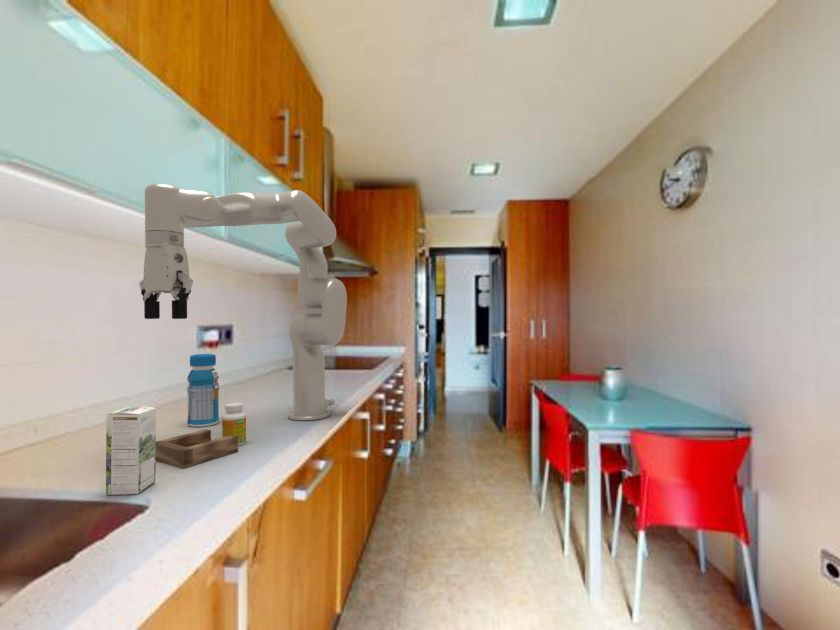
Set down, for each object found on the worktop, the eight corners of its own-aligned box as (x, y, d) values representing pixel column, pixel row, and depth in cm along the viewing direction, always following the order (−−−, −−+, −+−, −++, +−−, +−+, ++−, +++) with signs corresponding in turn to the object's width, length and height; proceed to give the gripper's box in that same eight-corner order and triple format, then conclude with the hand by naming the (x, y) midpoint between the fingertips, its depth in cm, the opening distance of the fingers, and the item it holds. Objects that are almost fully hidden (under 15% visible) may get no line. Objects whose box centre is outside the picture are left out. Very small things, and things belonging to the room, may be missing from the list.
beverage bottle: (196, 429, 123) (195, 356, 123) (181, 424, 128) (180, 355, 128) (225, 423, 130) (224, 354, 130) (210, 419, 135) (209, 353, 135)
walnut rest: (205, 444, 109) (205, 429, 109) (238, 451, 103) (238, 435, 103) (151, 459, 98) (151, 442, 98) (183, 468, 92) (183, 451, 92)
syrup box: (124, 483, 84) (124, 406, 84) (157, 482, 84) (156, 405, 84) (105, 496, 78) (104, 413, 78) (140, 494, 79) (139, 412, 79)
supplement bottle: (237, 447, 106) (237, 407, 106) (217, 446, 107) (217, 406, 107) (250, 441, 111) (250, 402, 111) (231, 440, 112) (230, 401, 112)
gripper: (205, 241, 99) (206, 318, 99) (157, 246, 107) (158, 318, 107) (173, 236, 92) (174, 319, 92) (124, 242, 100) (125, 319, 100)
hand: (165, 318), depth 100 cm, fingers open, 9 cm apart
